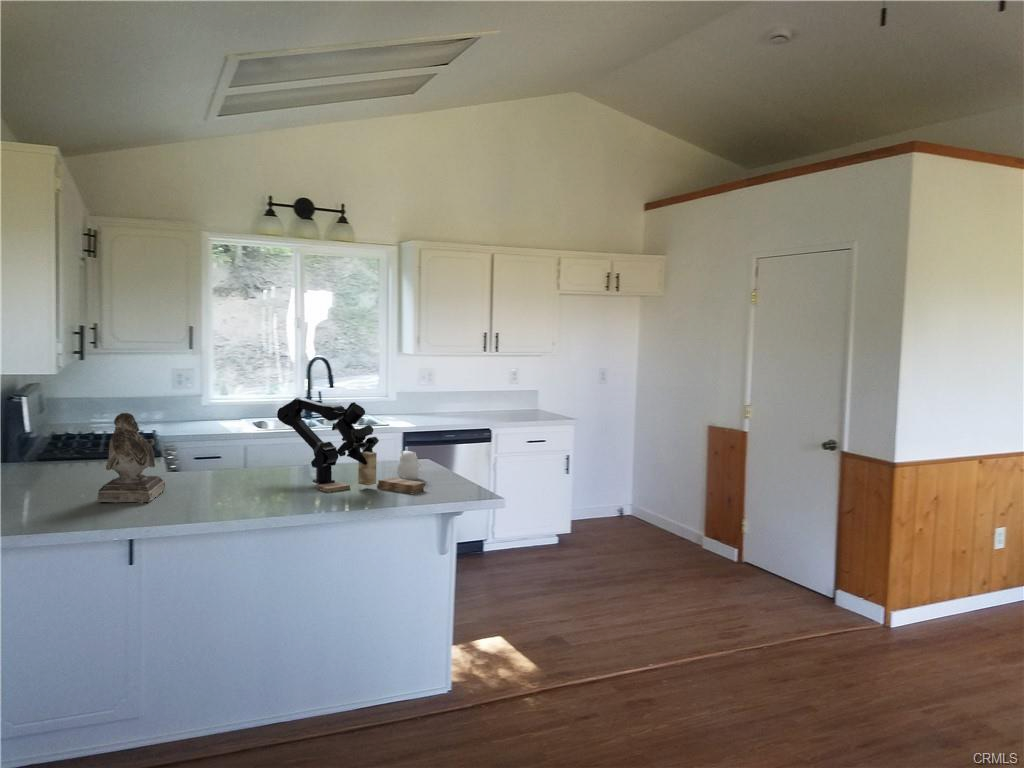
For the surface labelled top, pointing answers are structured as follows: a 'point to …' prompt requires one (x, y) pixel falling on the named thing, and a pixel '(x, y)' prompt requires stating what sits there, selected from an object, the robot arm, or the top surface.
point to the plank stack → (400, 485)
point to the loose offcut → (333, 486)
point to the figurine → (408, 466)
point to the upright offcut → (367, 469)
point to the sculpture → (130, 465)
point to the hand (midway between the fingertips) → (370, 463)
